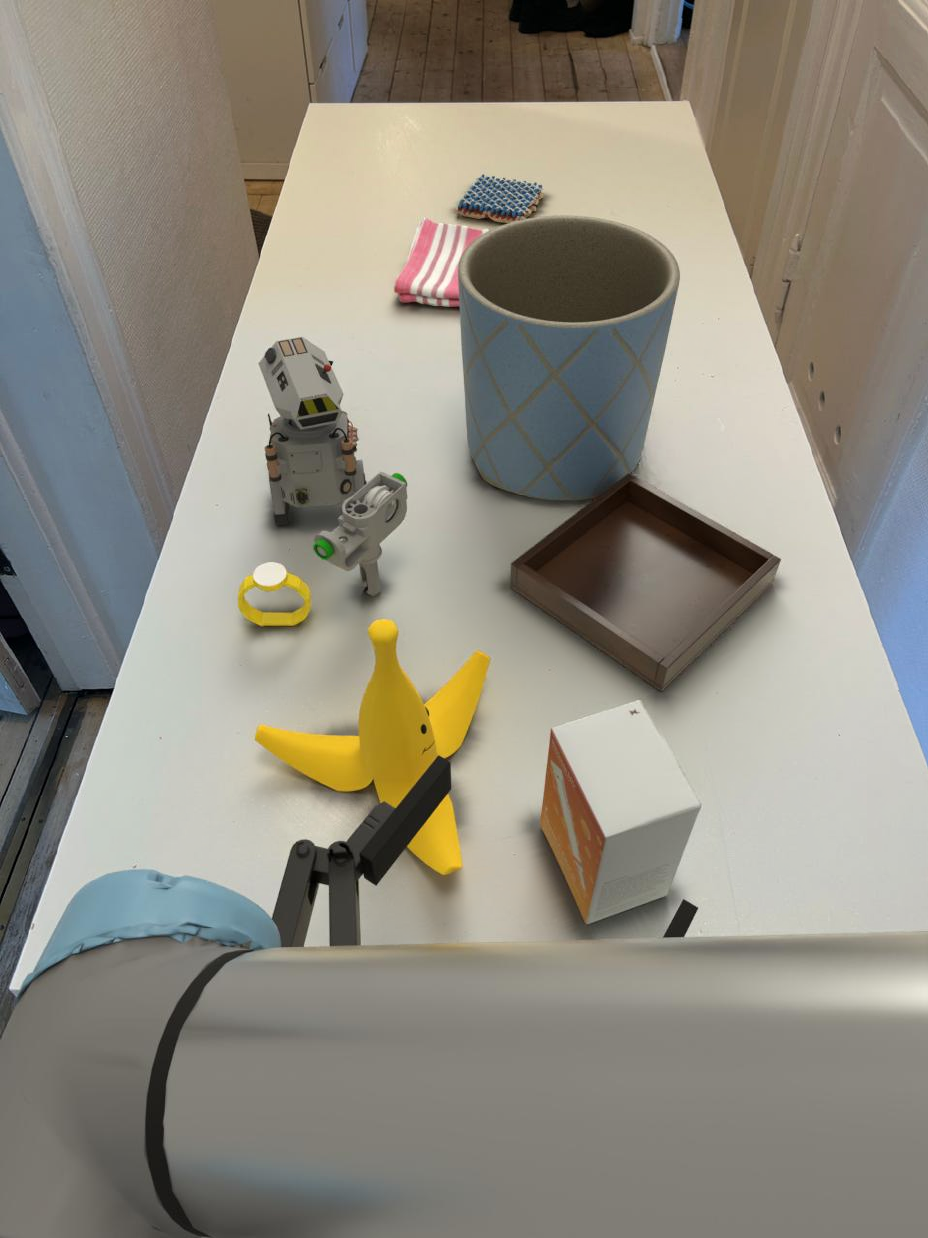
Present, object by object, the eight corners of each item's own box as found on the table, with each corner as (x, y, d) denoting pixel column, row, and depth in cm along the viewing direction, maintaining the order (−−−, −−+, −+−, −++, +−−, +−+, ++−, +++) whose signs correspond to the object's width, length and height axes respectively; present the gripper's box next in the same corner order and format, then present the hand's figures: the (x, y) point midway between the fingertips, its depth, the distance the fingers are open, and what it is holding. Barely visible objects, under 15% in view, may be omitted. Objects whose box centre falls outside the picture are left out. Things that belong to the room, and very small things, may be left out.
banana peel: (491, 676, 74) (493, 527, 61) (462, 897, 62) (457, 769, 49) (294, 658, 75) (256, 509, 62) (228, 870, 63) (164, 740, 50)
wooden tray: (772, 583, 80) (781, 558, 78) (661, 692, 72) (667, 669, 70) (624, 496, 88) (628, 472, 85) (509, 587, 80) (510, 563, 78)
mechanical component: (321, 618, 78) (304, 535, 70) (393, 549, 83) (385, 465, 76) (347, 633, 77) (333, 550, 69) (419, 562, 82) (413, 478, 75)
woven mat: (547, 195, 130) (547, 181, 128) (523, 229, 123) (524, 214, 122) (479, 185, 132) (479, 171, 131) (453, 217, 126) (452, 202, 124)
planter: (479, 386, 100) (478, 207, 85) (652, 403, 97) (683, 222, 82) (445, 500, 88) (437, 315, 72) (641, 523, 85) (676, 336, 70)
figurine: (366, 454, 92) (350, 323, 81) (369, 531, 85) (352, 399, 74) (277, 460, 92) (249, 329, 81) (273, 539, 84) (240, 406, 73)
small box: (537, 825, 65) (548, 724, 55) (617, 798, 66) (641, 695, 56) (584, 929, 60) (605, 839, 50) (669, 898, 61) (706, 804, 51)
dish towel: (418, 240, 122) (417, 214, 119) (590, 250, 119) (593, 225, 117) (392, 306, 111) (390, 280, 108) (581, 320, 108) (584, 293, 106)
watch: (243, 634, 77) (228, 587, 72) (246, 610, 79) (232, 563, 74) (313, 631, 77) (303, 584, 73) (315, 607, 79) (305, 559, 74)
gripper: (71, 1097, 40) (365, 758, 52) (553, 1543, 31) (780, 1012, 43) (6, 1049, 34) (352, 680, 46) (573, 1578, 25) (829, 954, 37)
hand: (559, 839), depth 44 cm, fingers open, 13 cm apart
